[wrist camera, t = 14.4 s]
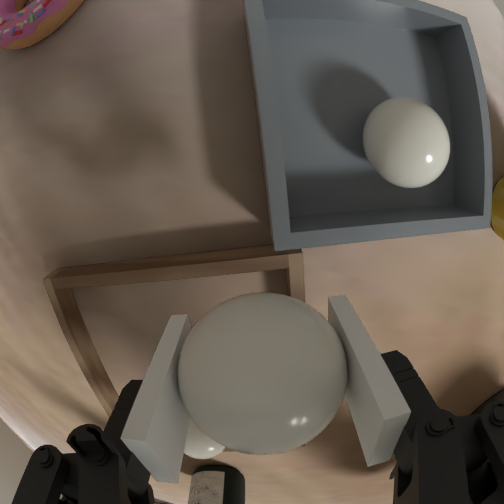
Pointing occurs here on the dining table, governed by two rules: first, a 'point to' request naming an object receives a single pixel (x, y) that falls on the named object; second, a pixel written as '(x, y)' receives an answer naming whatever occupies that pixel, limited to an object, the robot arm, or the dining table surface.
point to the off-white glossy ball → (406, 142)
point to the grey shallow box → (363, 117)
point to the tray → (152, 271)
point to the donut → (32, 20)
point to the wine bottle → (217, 486)
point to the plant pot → (498, 208)
